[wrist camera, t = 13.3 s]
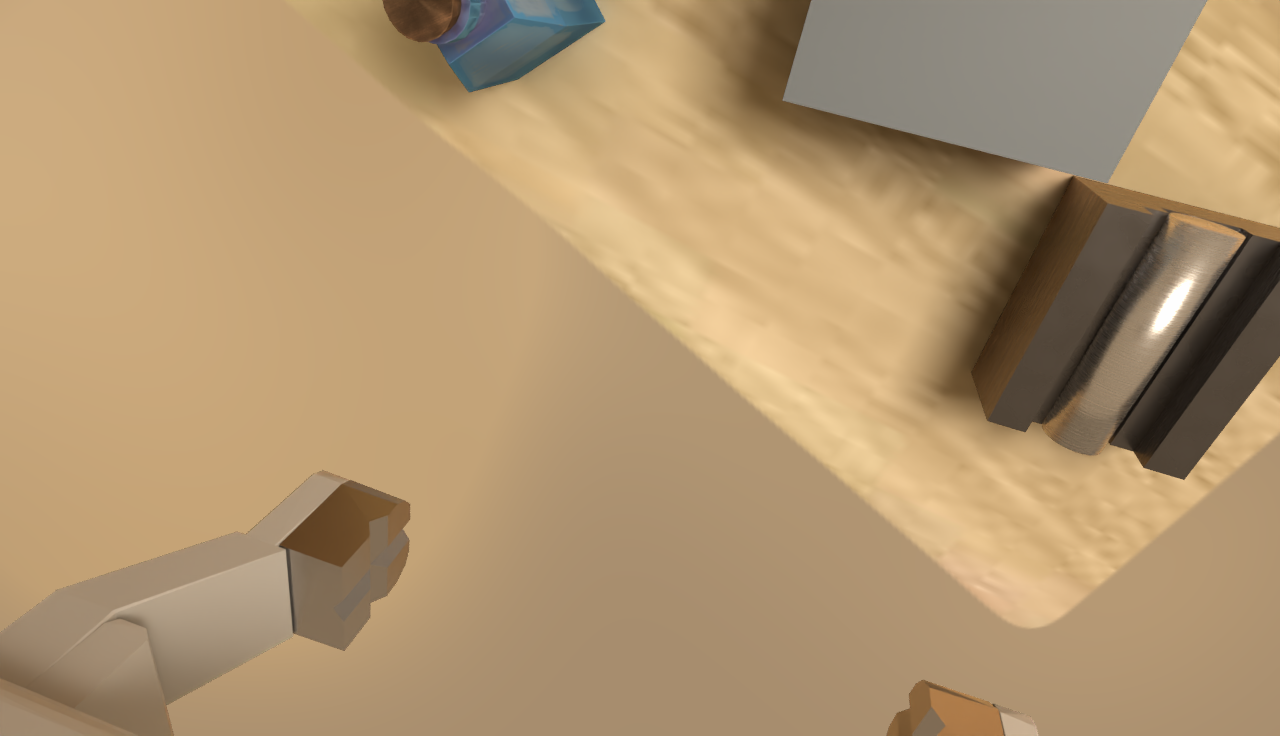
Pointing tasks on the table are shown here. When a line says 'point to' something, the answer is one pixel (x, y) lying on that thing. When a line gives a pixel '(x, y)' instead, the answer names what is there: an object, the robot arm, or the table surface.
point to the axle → (1140, 330)
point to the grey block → (995, 72)
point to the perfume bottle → (494, 33)
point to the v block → (1084, 296)
